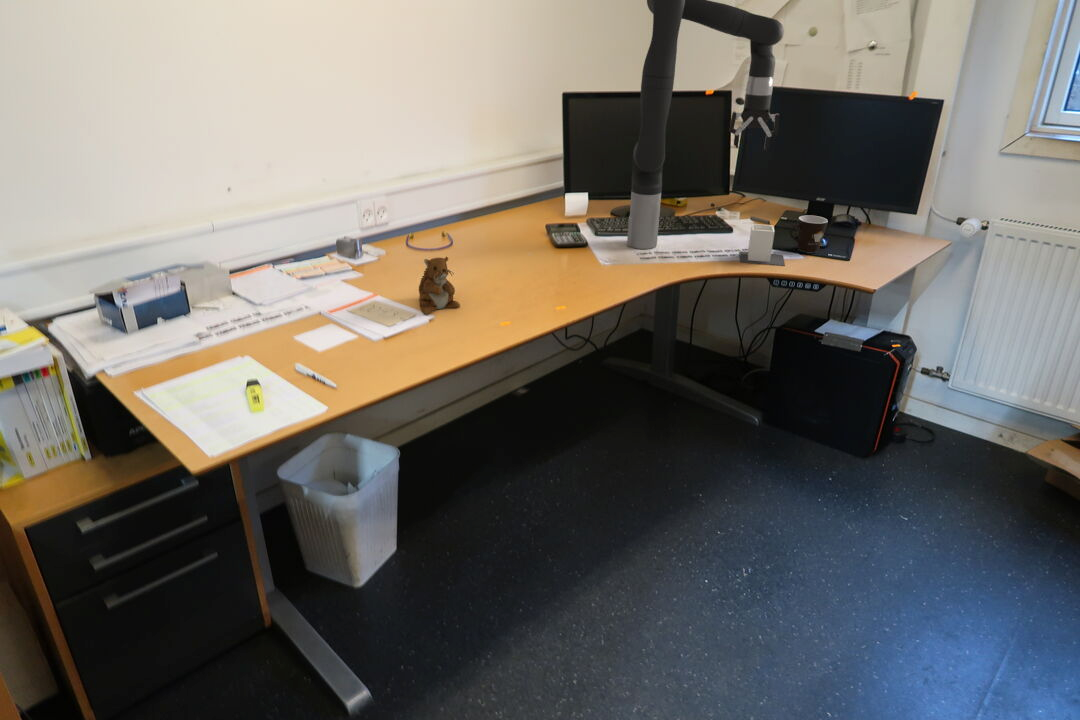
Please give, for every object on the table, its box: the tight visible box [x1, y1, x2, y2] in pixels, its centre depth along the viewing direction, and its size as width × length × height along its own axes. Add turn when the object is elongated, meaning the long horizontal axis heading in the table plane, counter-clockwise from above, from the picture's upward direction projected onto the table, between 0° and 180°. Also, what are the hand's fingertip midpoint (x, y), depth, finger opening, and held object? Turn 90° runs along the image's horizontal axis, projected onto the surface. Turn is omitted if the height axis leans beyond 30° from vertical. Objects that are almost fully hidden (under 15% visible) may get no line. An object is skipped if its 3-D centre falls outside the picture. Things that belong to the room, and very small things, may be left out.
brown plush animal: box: [418, 256, 461, 315], centre depth 190 cm, size 10×14×13 cm
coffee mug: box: [789, 214, 829, 252], centre depth 233 cm, size 12×9×10 cm
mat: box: [739, 250, 786, 267], centre depth 227 cm, size 13×10×1 cm
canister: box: [747, 223, 775, 262], centre depth 226 cm, size 6×6×10 cm
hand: (751, 148), depth 227 cm, fingers open, 8 cm apart
